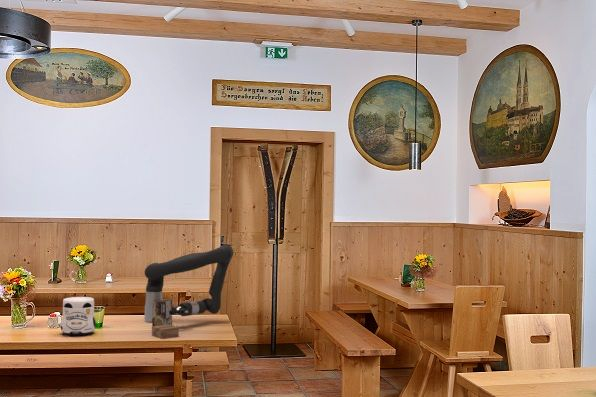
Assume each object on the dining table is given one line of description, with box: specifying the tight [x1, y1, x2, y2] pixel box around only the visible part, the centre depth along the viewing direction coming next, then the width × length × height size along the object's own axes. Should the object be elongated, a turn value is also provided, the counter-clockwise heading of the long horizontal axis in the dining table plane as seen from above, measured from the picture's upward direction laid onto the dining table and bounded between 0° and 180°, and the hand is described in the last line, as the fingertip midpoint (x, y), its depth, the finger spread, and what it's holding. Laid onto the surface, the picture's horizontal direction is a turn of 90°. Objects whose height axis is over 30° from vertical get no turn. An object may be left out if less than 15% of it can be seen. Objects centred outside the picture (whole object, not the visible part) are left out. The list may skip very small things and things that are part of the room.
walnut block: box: [151, 324, 180, 340], centre depth 366 cm, size 10×10×5 cm
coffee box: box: [151, 298, 173, 327], centre depth 381 cm, size 9×6×16 cm
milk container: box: [60, 296, 97, 336], centre depth 368 cm, size 17×17×18 cm
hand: (165, 311), depth 382 cm, fingers closed on coffee box, 8 cm apart
